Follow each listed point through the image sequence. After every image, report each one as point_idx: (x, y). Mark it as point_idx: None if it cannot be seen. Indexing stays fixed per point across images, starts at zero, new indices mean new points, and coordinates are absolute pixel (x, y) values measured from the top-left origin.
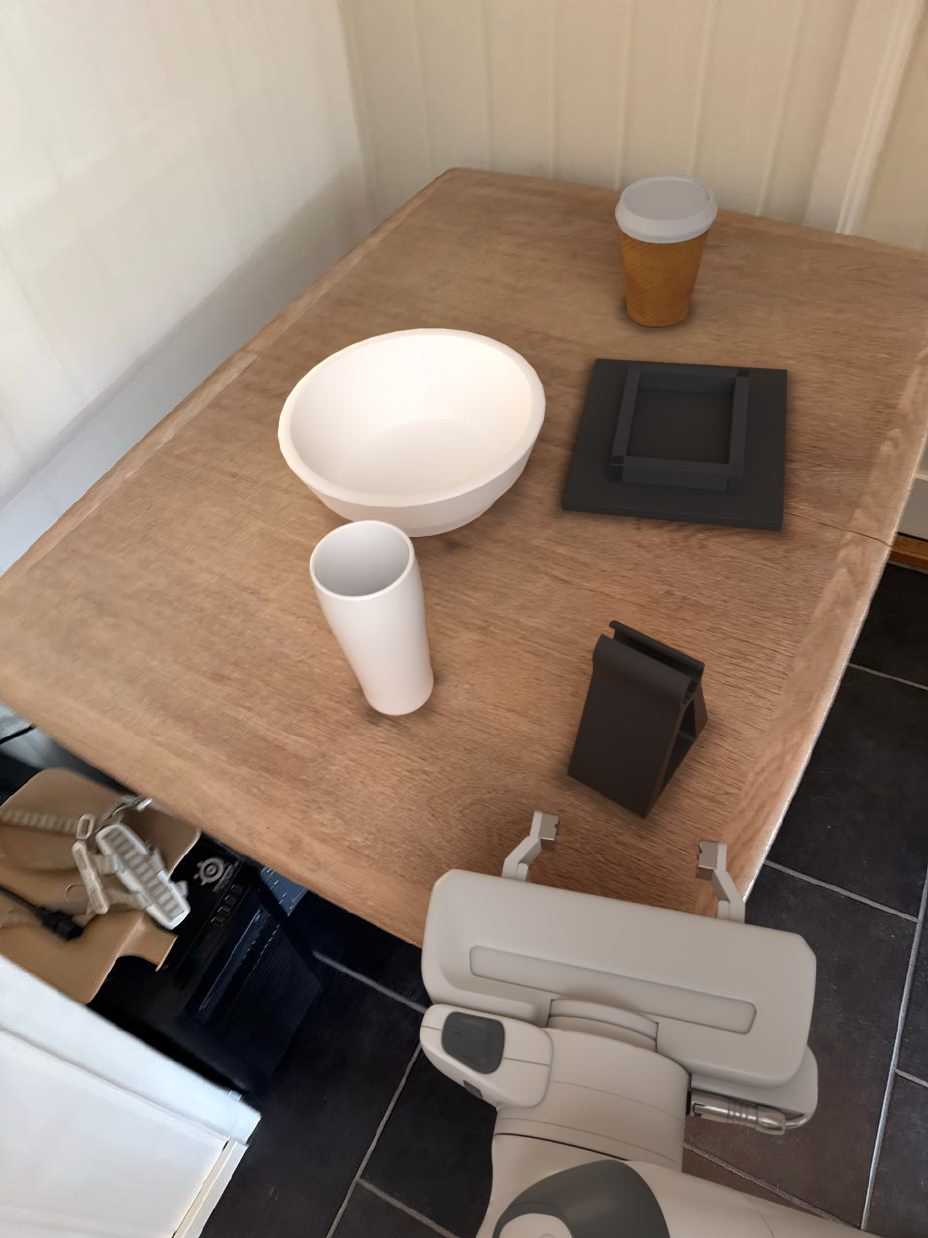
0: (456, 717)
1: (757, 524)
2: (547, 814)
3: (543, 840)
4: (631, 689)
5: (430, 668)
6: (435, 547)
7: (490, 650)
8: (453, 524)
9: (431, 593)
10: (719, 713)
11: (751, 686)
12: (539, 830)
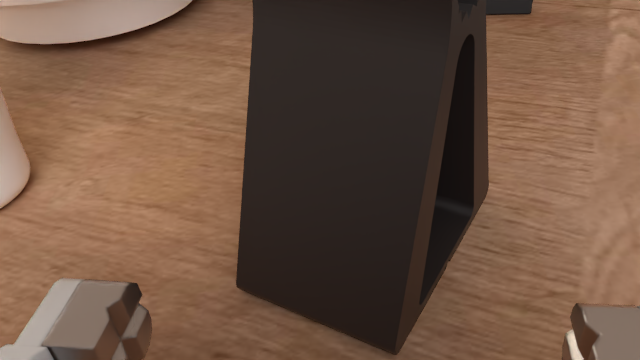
0: (54, 223)
1: (501, 5)
2: (95, 281)
3: (62, 356)
4: (335, 12)
5: (8, 137)
6: (93, 56)
7: (137, 140)
8: (114, 21)
9: (70, 93)
10: (504, 181)
11: (545, 147)
12: (55, 325)
